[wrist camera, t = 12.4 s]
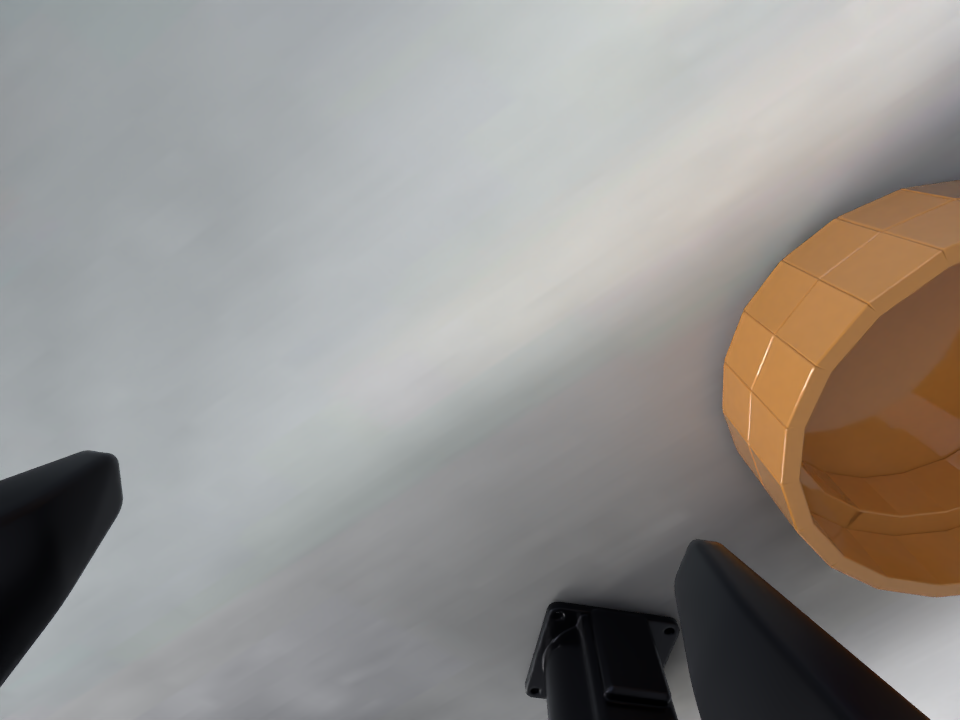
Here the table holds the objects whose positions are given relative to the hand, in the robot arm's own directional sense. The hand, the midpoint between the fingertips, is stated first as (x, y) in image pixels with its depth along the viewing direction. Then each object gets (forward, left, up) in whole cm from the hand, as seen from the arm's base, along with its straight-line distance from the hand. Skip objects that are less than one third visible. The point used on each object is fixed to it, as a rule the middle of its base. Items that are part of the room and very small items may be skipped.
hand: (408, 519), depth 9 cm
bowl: (0, -17, -13) cm, 21 cm away
